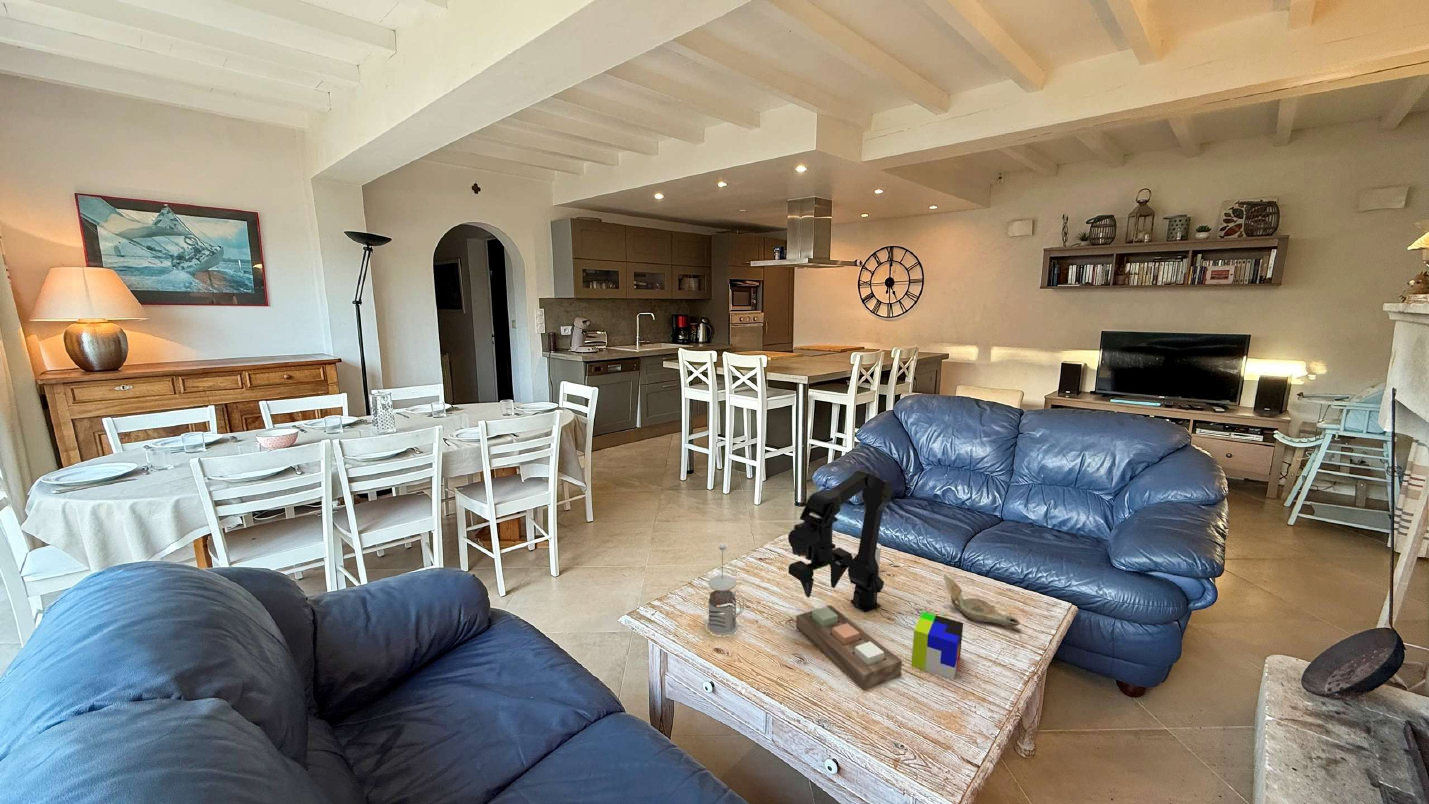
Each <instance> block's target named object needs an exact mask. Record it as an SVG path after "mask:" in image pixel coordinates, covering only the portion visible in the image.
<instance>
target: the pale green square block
mask: <svg viewBox="0 0 1429 804" xmlns="http://www.w3.org/2000/svg"><path fill="white" fill-rule="evenodd" d="M811 611H812V619H813V620H814V621H815V622H817V623H818V624H819V625H820V626H821V627H822V628H823V627H826V626H829V625H832V624H836V623H838V615H836V614H835V613H834V612H833V611H831V610H830V609H829V608H828V607H827V606H824V608H823V607H821V609H820V608H817V609H814V611H813V610H811Z"/></svg>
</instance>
